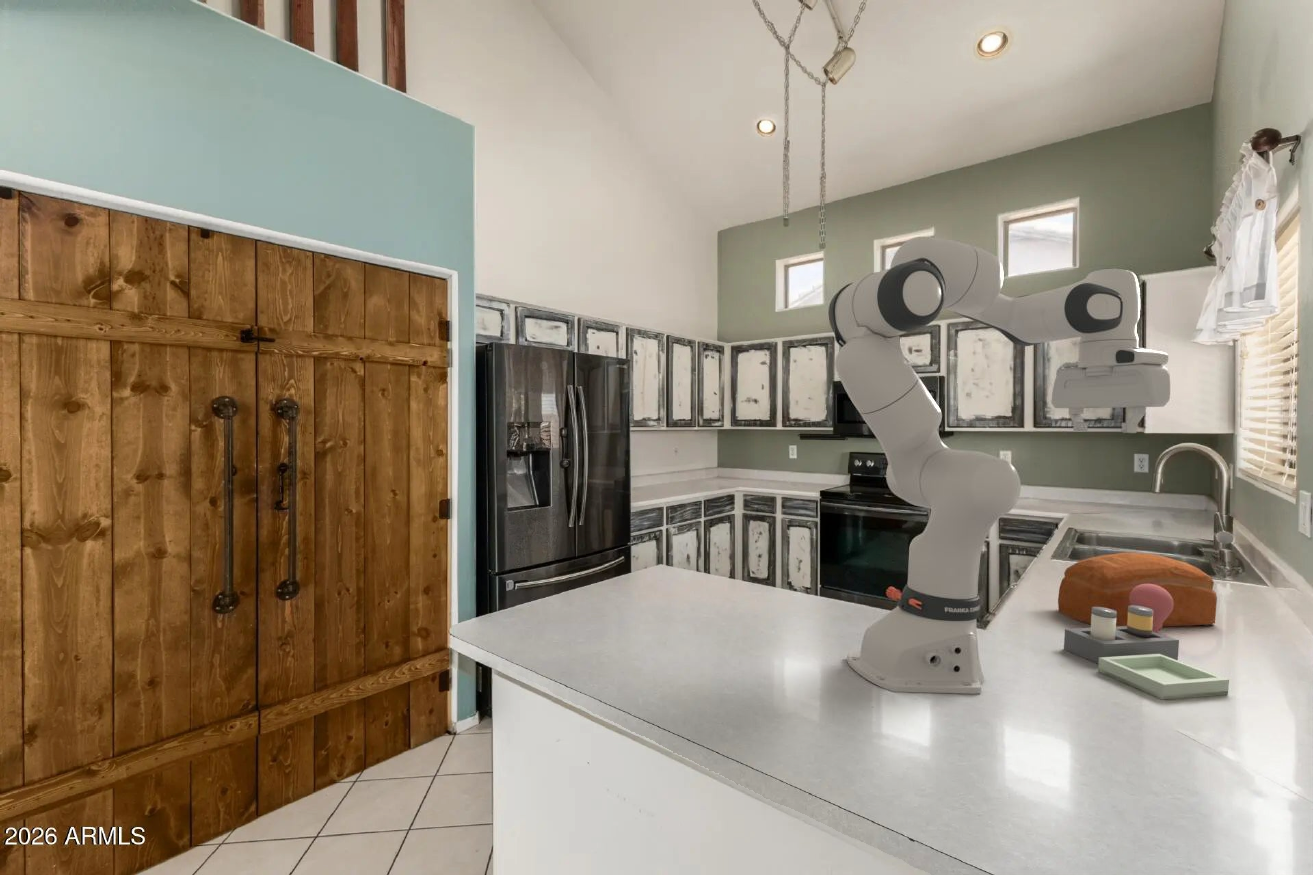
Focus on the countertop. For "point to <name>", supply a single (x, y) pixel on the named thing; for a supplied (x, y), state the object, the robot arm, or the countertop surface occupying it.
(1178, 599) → the bread
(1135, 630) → the cylinder
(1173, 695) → the tray
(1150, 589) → the light bulb
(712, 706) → the countertop surface
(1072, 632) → the fuse holder
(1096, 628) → the ball
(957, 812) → the countertop surface
